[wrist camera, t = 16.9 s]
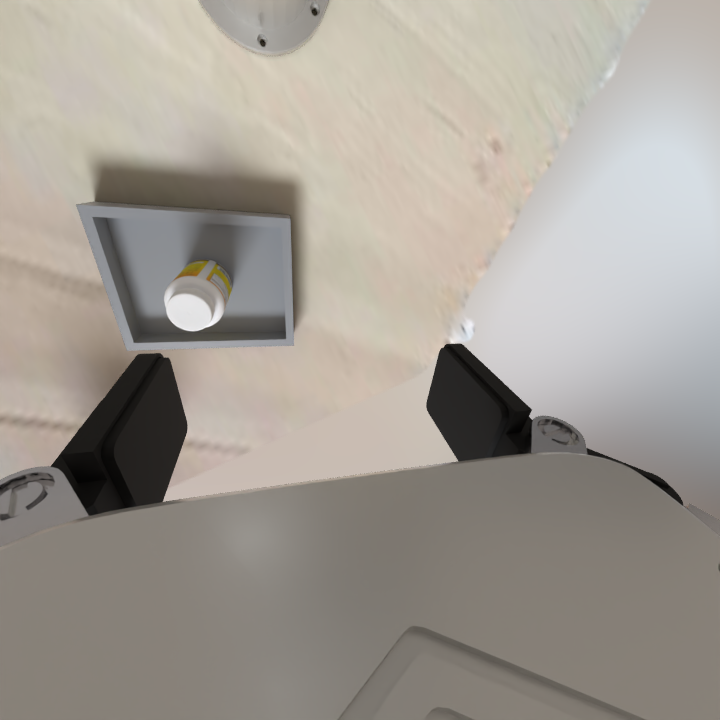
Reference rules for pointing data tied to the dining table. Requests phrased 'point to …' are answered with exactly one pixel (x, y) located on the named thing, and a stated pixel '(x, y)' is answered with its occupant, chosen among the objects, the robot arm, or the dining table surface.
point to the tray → (174, 252)
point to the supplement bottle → (198, 295)
